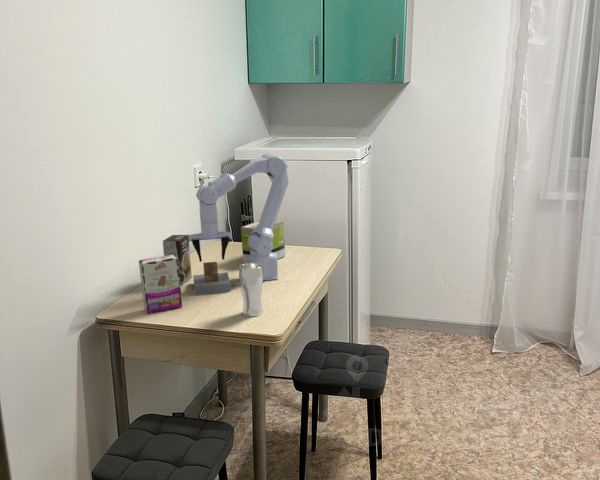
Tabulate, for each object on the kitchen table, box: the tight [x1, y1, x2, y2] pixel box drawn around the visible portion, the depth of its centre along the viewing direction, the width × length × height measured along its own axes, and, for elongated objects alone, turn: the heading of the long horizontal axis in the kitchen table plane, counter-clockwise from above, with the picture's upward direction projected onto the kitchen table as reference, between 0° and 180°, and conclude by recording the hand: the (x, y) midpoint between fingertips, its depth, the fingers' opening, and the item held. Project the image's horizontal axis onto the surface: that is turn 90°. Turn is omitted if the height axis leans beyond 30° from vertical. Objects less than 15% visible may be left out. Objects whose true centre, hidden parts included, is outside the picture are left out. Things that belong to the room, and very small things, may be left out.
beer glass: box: [238, 263, 264, 318], centre depth 177 cm, size 7×7×15 cm
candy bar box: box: [138, 255, 183, 315], centre depth 182 cm, size 11×5×16 cm, turn 117°
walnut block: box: [203, 261, 219, 282], centre depth 201 cm, size 4×4×6 cm
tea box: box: [240, 220, 286, 264], centre depth 231 cm, size 15×10×15 cm, turn 144°
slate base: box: [192, 272, 231, 296], centre depth 202 cm, size 12×12×3 cm
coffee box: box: [162, 234, 193, 286], centre depth 208 cm, size 9×6×16 cm
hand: (211, 259), depth 202 cm, fingers open, 7 cm apart
